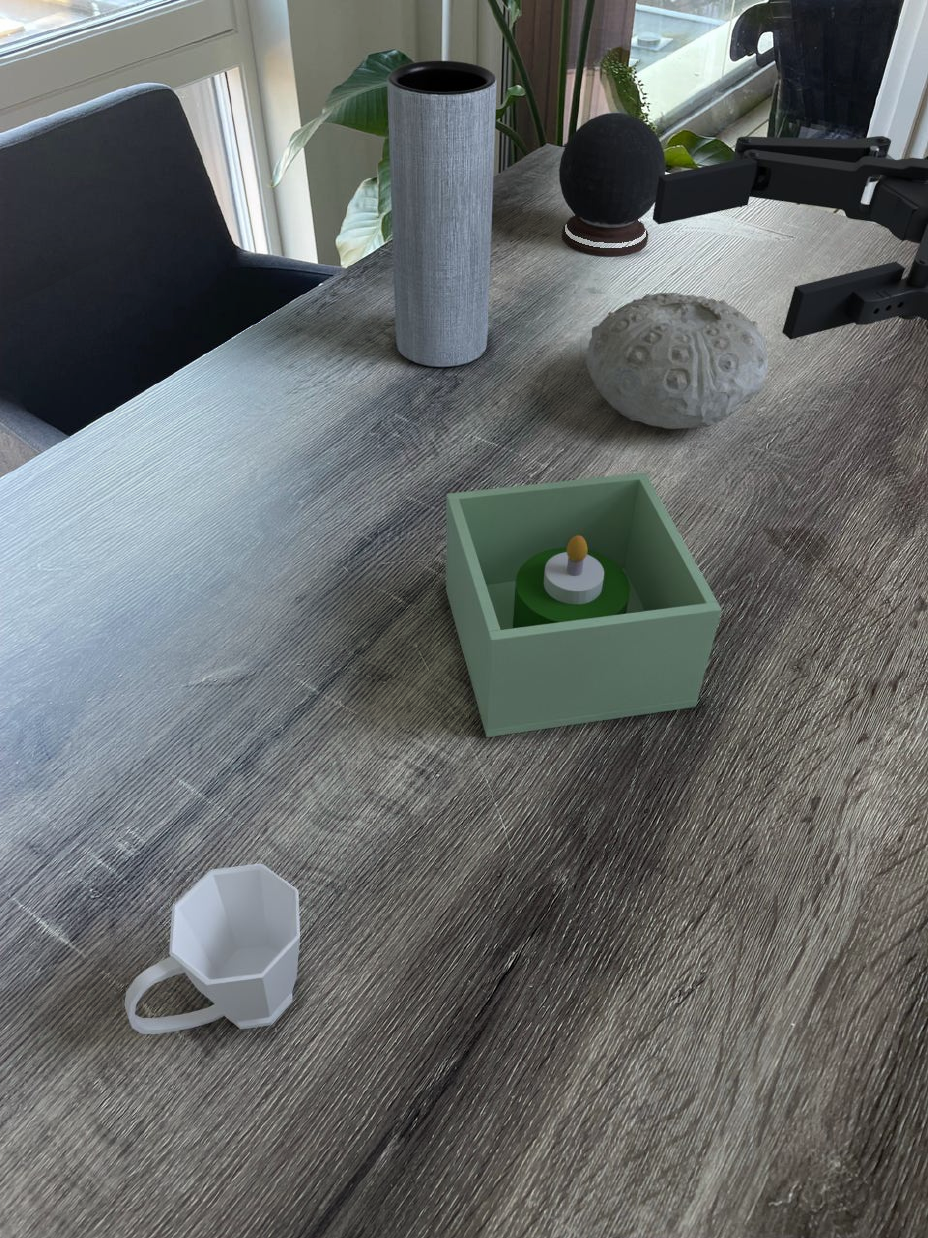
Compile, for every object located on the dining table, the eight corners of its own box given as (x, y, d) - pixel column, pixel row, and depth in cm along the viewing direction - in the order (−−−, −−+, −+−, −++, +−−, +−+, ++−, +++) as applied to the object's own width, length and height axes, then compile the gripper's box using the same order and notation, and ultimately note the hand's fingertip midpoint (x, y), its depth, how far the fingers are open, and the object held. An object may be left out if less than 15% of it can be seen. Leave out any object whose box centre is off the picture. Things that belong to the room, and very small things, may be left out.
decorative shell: (562, 364, 107) (570, 274, 100) (717, 349, 110) (736, 261, 103) (613, 459, 95) (627, 364, 88) (787, 439, 98) (814, 347, 91)
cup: (338, 1013, 56) (327, 942, 50) (166, 1109, 52) (132, 1044, 47) (287, 915, 60) (271, 840, 55) (124, 997, 56) (89, 925, 51)
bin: (695, 707, 73) (722, 609, 66) (486, 737, 70) (491, 640, 63) (629, 567, 84) (645, 471, 77) (446, 590, 81) (446, 493, 74)
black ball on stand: (603, 209, 137) (616, 90, 127) (676, 241, 130) (696, 118, 120) (533, 234, 131) (540, 111, 120) (605, 269, 124) (620, 142, 113)
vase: (468, 317, 114) (473, 55, 96) (500, 359, 108) (513, 86, 89) (384, 331, 112) (373, 64, 93) (413, 375, 105) (406, 97, 86)
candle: (539, 588, 80) (548, 487, 73) (636, 622, 78) (655, 521, 71) (493, 653, 75) (499, 551, 68) (595, 692, 72) (612, 590, 65)
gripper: (1141, 342, 57) (839, 433, 52) (863, 163, 72) (606, 218, 67) (1215, 216, 52) (886, 302, 46) (897, 50, 67) (620, 100, 61)
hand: (720, 252), depth 56 cm, fingers open, 13 cm apart
